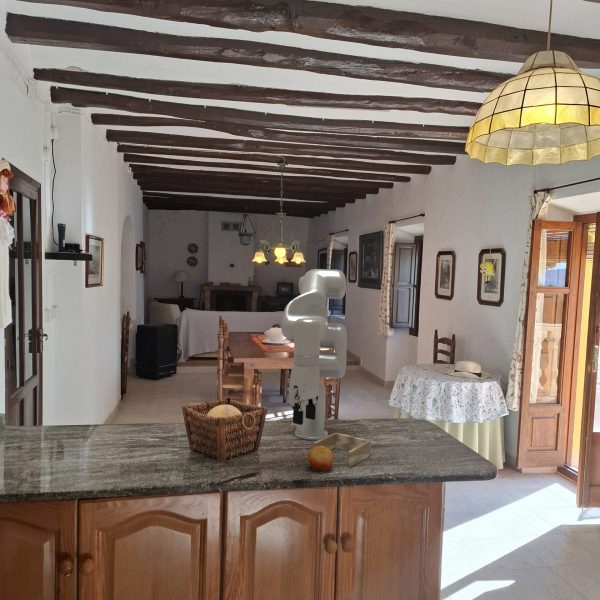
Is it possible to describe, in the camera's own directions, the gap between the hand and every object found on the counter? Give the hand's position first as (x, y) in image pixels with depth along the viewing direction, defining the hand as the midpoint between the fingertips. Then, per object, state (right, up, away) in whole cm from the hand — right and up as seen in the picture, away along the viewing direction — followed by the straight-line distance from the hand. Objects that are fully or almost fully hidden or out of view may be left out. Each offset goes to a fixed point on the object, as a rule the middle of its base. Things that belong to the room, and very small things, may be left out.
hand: (304, 420), depth 150 cm
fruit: (+5, -18, +9) cm, 20 cm away
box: (+13, -17, +21) cm, 30 cm away
